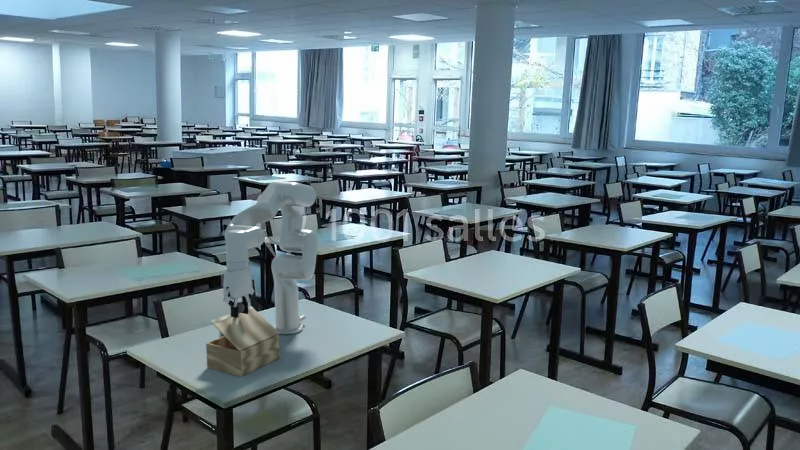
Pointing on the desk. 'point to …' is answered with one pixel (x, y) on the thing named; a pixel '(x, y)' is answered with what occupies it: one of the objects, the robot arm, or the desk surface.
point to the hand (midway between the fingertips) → (239, 314)
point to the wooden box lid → (245, 328)
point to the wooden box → (241, 356)
